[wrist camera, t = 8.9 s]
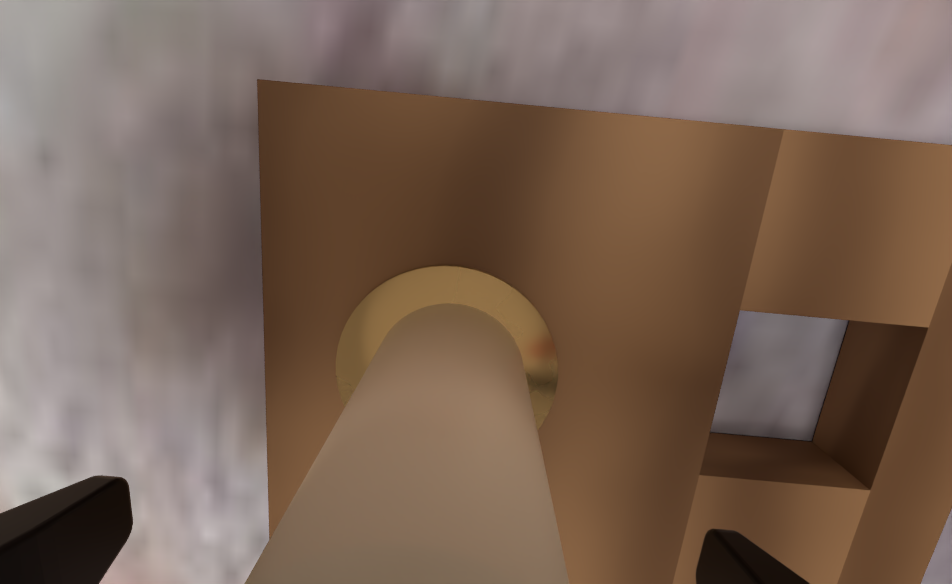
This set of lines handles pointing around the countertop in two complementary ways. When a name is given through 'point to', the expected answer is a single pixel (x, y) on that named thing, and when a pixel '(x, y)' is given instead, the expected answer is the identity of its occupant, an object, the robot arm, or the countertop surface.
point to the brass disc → (455, 288)
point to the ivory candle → (427, 469)
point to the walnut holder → (636, 311)
